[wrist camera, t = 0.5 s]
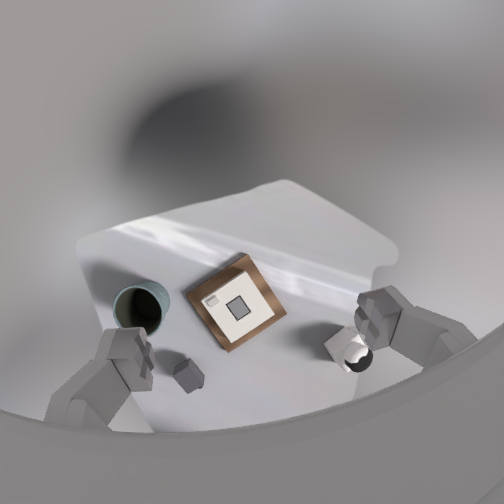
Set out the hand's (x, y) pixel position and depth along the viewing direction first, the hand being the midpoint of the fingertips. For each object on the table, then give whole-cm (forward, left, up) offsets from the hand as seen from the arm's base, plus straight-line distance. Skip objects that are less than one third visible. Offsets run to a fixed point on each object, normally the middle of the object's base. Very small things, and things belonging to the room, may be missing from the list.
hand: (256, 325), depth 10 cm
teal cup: (+2, +18, -50) cm, 54 cm away
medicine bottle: (-33, -12, -50) cm, 62 cm away
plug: (-16, +21, -50) cm, 57 cm away
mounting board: (-9, +3, -50) cm, 51 cm away
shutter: (-9, +3, -46) cm, 47 cm away
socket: (-9, +3, -49) cm, 50 cm away
